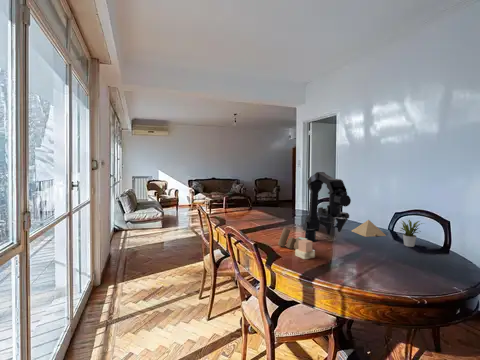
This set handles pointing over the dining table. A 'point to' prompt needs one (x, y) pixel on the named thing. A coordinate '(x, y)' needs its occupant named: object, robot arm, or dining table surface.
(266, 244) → the dining table surface
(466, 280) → the dining table surface
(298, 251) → the maple base
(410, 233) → the house plant
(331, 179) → the robot arm
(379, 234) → the model pyramid
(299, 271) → the dining table surface
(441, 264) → the dining table surface
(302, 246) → the terracotta cube
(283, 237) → the wooden block set
